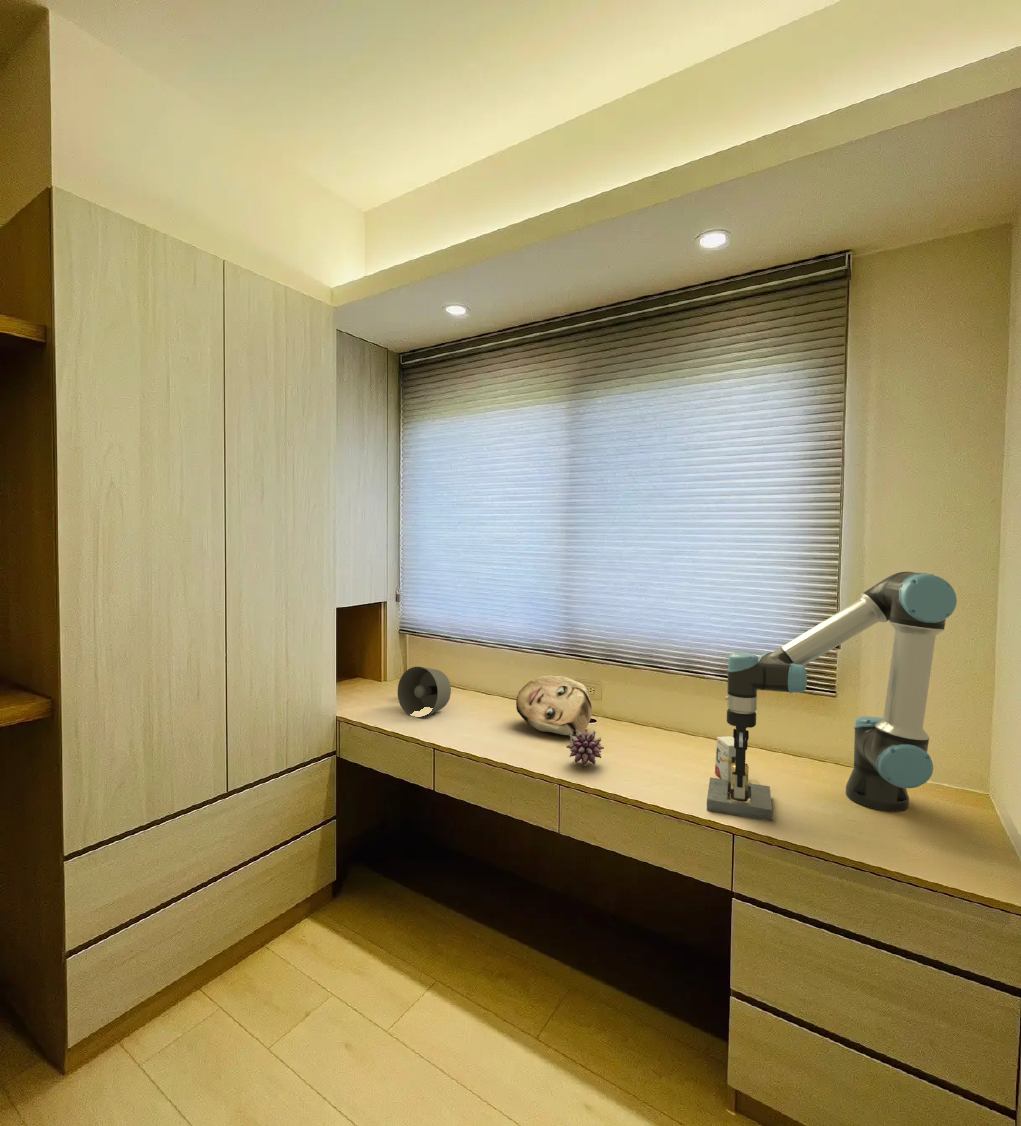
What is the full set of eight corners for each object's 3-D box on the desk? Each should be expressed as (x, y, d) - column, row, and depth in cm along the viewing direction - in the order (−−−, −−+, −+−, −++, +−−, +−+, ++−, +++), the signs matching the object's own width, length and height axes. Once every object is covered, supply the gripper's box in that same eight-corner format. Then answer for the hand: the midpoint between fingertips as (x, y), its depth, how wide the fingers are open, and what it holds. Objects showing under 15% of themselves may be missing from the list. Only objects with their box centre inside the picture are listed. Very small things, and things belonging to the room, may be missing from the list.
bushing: (747, 796, 163) (748, 764, 162) (747, 802, 159) (748, 769, 158) (730, 793, 164) (731, 761, 164) (730, 800, 160) (731, 767, 160)
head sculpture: (520, 739, 232) (581, 756, 215) (503, 714, 222) (566, 730, 206) (544, 693, 245) (604, 706, 228) (530, 668, 235) (591, 679, 218)
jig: (769, 796, 166) (769, 786, 166) (772, 821, 151) (772, 810, 151) (709, 787, 172) (710, 777, 172) (706, 810, 157) (706, 799, 157)
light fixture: (437, 667, 233) (473, 665, 257) (388, 665, 246) (427, 662, 269) (436, 720, 231) (472, 712, 254) (386, 714, 243) (425, 708, 266)
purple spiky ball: (590, 775, 179) (590, 737, 179) (559, 765, 187) (559, 728, 187) (610, 765, 188) (611, 728, 187) (580, 756, 196) (580, 720, 196)
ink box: (714, 773, 182) (715, 736, 182) (729, 773, 183) (730, 735, 183) (727, 785, 174) (728, 745, 173) (743, 784, 174) (744, 745, 174)
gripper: (727, 700, 170) (725, 780, 171) (726, 717, 154) (723, 804, 155) (755, 703, 167) (753, 784, 168) (757, 720, 151) (754, 809, 152)
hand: (739, 794), depth 161 cm, fingers closed on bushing, 4 cm apart
